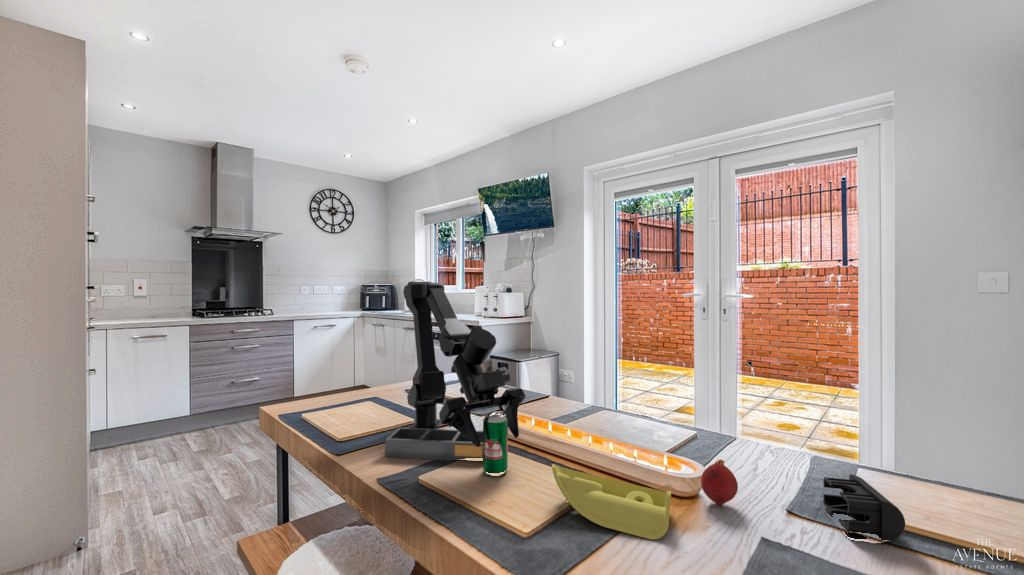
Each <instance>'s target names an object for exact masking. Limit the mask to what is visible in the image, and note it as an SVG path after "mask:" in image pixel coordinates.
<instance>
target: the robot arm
mask: <svg viewBox="0 0 1024 575" xmlns="http://www.w3.org/2000/svg"><path fill="white" fill-rule="evenodd" d="M403 298H404V300H405V304H406V307H407V308H408V310H409V311H410V312H411V313H412V315H413V316H412V317H413V327H414V339H415V350H416V351H415V352H416V361H417V362H416V363H417V369H416V370H415V372H414V375H413V377H412V385H411V388H410V390H409V392H408V394H407V395H406V396H407V397H406V398H407V404H408V405H409V406H411V407H412V408H414V424H412V425H411V426H410V428H423V429H437V428H438V427H439V425H440V424H442V426H443V425H448V427H450V428H454V430H458V431H459V432H461V433H462V434H463V435H464V436H466V437H467V438H468V439H469V440H470V441H471V442H472V443H473V444H474V445H475V446H477V447H479V446H480V445H481V443H480V440H479V437H478V434H477V432H476V431H477V430H476V427H475V424H474V423H473V421H472V418H471V412H476V411H482V410H487V409H491V408H497V407H498V409H499V411H500V412H504V413H505V414H506V417H507V419H508V430H509V431H510V433H511V434H512V435H513V436H514V438H515V439H517V438H519V436H520V431H519V430H520V429H519V420H518V409H519V407H520V406H521V404H522V403H523V402H524V401H525V399H526V397H527V396H526V394H525V392H524V390H523V389H522V388H520V387H514V388H508V389H505V390H504V392H503V393H502V394H501V396H498V397H495V395H497V394H498V393H499V388H500V387H504V386H506V383H508V382H510V380H511V375H510V372H509V371H508V368H507V366H503V367H498V368H497V369H495V371H487V372H484V369H483V367H482V365H483V364H485V363H486V361H487V360H488V358H489V356H490V354H491V353H492V351H493V350H494V348H495V347H496V344H497V339H496V337H495V335H493V334H492V333H491V332H490V331H488V330H486V329H483V327H482V325H472V327H471V329H470V328H469V327H468V326H467V324H465V323H463V322H462V321H460V320H459V319H458V316H457V315H456V313H455V311H454V309H453V307H452V304H451V303H450V300H449V299H448V296H447V294H446V292H445V286H444V284H443V283H441V282H432V281H409V282H408V283H407V284H406V285H404V287H403ZM432 315H433V317H434V319H435V322H436V324H437V326H438V329H439V331H440V334H439V337H438V342H439V348H440V351H441V352H442V354H443V355H444V356H445V357H449V358H450V357H455V359H454V360H453V362H452V366H451V368H450V369H451V371H450V372H451V373H452V374H453V373H454V374H455V373H456V375H457V378H458V381H459V384H460V386H461V387H460V389H459V392H460V394H461V395H462V394H464V396H465V397H463V396H457V397H452V398H447V399H446V394H447V393H446V391H447V386H446V381H445V373H444V371H443V370H440V368H439V367H438V365H437V363H436V354H435V342H434V341H435V340H434V331H433V319H432ZM445 399H446V401H445ZM437 404H443V406H442V407H441V409H440V411H439V413H438V412H437ZM437 413H438V415H439V416H437ZM437 417H439V420H437ZM439 423H440V424H439ZM438 424H439V425H438ZM436 427H437V428H436Z"/></svg>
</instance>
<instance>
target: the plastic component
mask: <svg viewBox="0 0 1024 575" xmlns="http://www.w3.org/2000/svg"><path fill="white" fill-rule="evenodd" d="M551 470H552V474H553V478H554V480H555V482H556V485H557V486H558V489H559V491H560V492H561V494H562V496H563V497H564V498H565V502H566V501H568V502H569V503H570V505H571V507H572V508H573V509H574V510H576V512H577V513H579V514H580V515H581V516H582V517H584V518H586V519H588V520H589V521H591V522H593V523H594V524H597V525H599V526H601V527H604V528H607V529H610V530H615V531H618V532H622V533H625V534H630V535H633V536H637V537H641V538H645V539H648V540H659V539H661V538H662V537H663V536H665V534H666V533H667V532H668V530H669V527H670V526H669V525H670V524H669V522H670V512H671V501H672V491H670V490H667V491H664V490H659V489H655V488H649V487H646V486H642V485H639V484H633V483H631V482H630V483H629V482H624V481H621V480H617V479H613V478H608V477H603V476H598V475H594V474H591V473H586V472H582V471H578V470H573V469H570V468H567V467H562V466H559V465H557V464H555V463H554V464H553V463H552V464H551ZM569 503H568V504H569Z"/></svg>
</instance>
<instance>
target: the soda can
mask: <svg viewBox="0 0 1024 575" xmlns="http://www.w3.org/2000/svg"><path fill="white" fill-rule="evenodd" d="M482 431H483V462H482V470H484V471H485V472H488V473H500V472H504V471H505V470H507V468H509V467H508V463H509V461H508V459H509V457H508V456H509V454H508V451H509V443H508V442H509V441H508V439H509V438H508V437H509V435H508V434H509V427H508V419H507V417H506V414H505V413H504V412H502V411H500V410H499V411H497V410H496V411H495V410H493V411H488V412H486V413H484V418H483V419H482ZM484 471H483V472H484ZM507 471H508V470H507Z"/></svg>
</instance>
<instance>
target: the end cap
mask: <svg viewBox="0 0 1024 575" xmlns="http://www.w3.org/2000/svg"><path fill="white" fill-rule="evenodd" d="M848 476H849V477H848V478H849V479H846V478H839V477H838V478H836V477H826V476H825V477H823V488H829V489H838V490H842V491H839V495H837V494H830V493H829V494H828V493H823V494H822V496H823V497H822V498H823V499H822V500H823V505H824V507H825V508H824V510H825V511H826V512H827V513H828V514H829V515H830V516H831V517H833V516H832V515H834V514H833V513H836V514H844V515H848V516H850V517H853V518H854V519H856V520H841V519H839V522H840V523H841V525H842V526H843V527H844V528H845V529H846V530H847V531H853V532H861V533H870V534H876V535H878V536H879V538H881V540H892V541H895V540H896V539H898V538H900V537H901V536H902V534H903V533H904V532H905V528H906V520H905V517H904V514H903V513H902V511H901V510H900V509H899V508H898V507H897V505H895V504H894V503H893V502H891V501H890V500H889V499H887V497H885V496H884V495H883V494H882V493H880V492H879V491H878V490H877V489H875V488H874V487H873V486H872V485H871V484H870V483H868V482H867V481H866V480H865V479H863V478H862V477H861V476H858V475H855V474H851V473H849V475H848ZM844 532H845V531H844ZM845 534H846V535H847V536H848V537H850V538H854V539H867V538H866V537H864V536H862V535H859V534H856V533H849V532H848V533H847V532H845Z"/></svg>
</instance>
